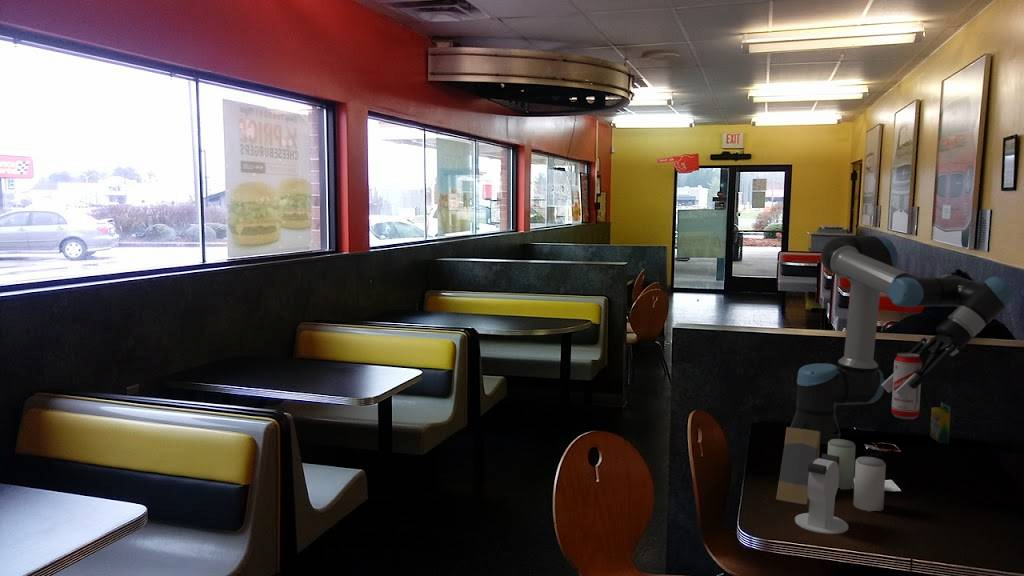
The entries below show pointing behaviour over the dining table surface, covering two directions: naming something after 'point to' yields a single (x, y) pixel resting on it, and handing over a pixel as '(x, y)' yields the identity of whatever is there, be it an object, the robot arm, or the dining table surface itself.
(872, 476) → the off-white tin
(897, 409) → the beer can
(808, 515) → the white post on disc
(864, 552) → the dining table surface
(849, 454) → the sage tin
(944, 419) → the crayon box
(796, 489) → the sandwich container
